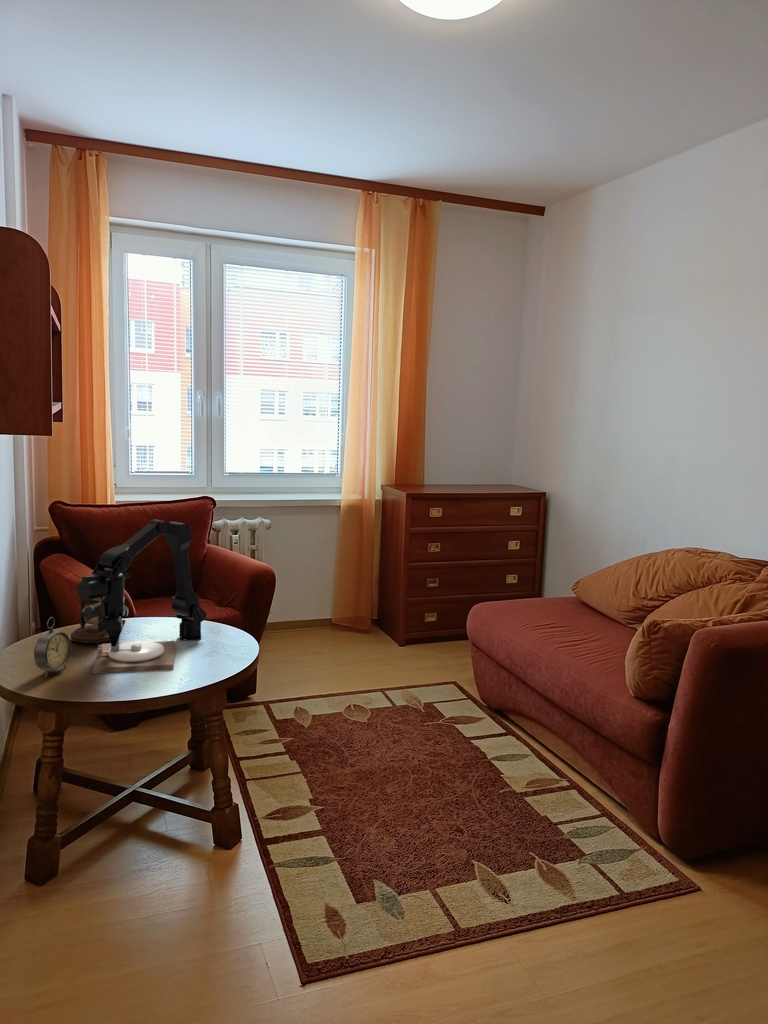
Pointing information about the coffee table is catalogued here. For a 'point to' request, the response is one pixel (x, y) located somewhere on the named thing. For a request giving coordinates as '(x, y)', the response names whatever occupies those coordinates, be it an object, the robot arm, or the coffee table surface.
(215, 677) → the coffee table surface
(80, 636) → the wooden thread spool stand
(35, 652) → the alarm clock
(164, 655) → the stand plate
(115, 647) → the dial
